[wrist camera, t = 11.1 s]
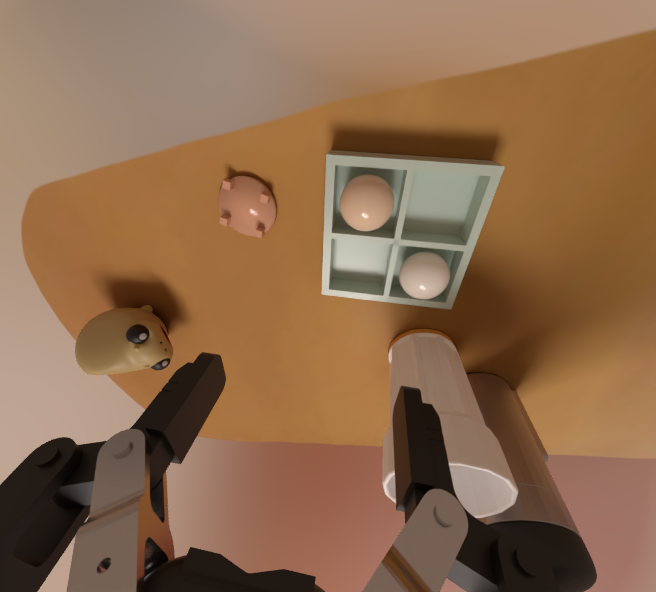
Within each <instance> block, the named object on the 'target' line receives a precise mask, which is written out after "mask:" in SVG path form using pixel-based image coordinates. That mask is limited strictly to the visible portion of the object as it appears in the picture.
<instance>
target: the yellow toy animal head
mask: <svg viewBox="0 0 656 592" xmlns="http://www.w3.org/2000/svg"><path fill="white" fill-rule="evenodd" d="M152 311H153V308H152V307H151V306H150V305H145V306H142V307H141V308H117V309H112V310H109V311H106V312H104V313H101V314H99V315H97V316H96V317H94V318H93V319H91V320H90V321H89V322H88V323H87V324H86V325H85V326H84V327H83V329H82V330H81V332H80V333H79V336H78V338H77V342H76V347H75V354H76V359H77V362H78V364H79V366H80V367H81V369H82V370H83V371H84V372H86V373H87V374H90V375H107V374H117V373H124V372H131V371H136V370H142V369H146V368H150V367H151V368H152V369H154V370H162V369H164V368H166V367H167V366H168V365H169V363H170V360H171V358H172V356H173V348H172V345H171V343H170V341H169V338H168V333H167V330H166V327H165V325H164V324H163V322H162V321H161V320H160V319H159V318H158V317H157V316H156V315H154V314H153V313H152Z"/></svg>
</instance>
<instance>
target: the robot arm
mask: <svg viewBox="0 0 656 592" xmlns="http://www.w3.org/2000/svg"><path fill="white" fill-rule="evenodd" d="M467 378H468V380H469V383H470V385H471V388H472V391H473V393H474V396H475V399H476V401H477V404H478V406H479V409H480V412H481V414H482V417H483V419H484V422H485V425H486V427H488V428H489V429H490V430H491V431H492V433H493V434H494V435H495V437H496V438H497V440H498V441H499V444H500V446H501V449H502V451H503V453H504V456H505V458H506V461H507V463H508V466H509V468H510V471H511V473H512V476H513V478H514V481H515V483H516V486H517V488H518V494H517V498H516V501H515V504H514V505H512V506H511V507H509V508H508V509H506V510H505V511H503V512H502V513H498V514H494V515H491V516H487V517H483V518H475V517H474V516H472V515H471V514H470V513H469V512H468V511H467V510H466V509H465V508H464V507H463V505H462V504H461V503H460V501H459V499H458V498H457V496H456V493H455V491H454V487H453V482H452V477H451V472H450V467H449V462H448V457H447V452H446V447H445V444H444V437H443V433H442V427H441V422H440V417H439V415H438V414H437V412H436V410H435V409H434V407H433V405H432V404H427V403H422V396H421V391H420V389H419V388H413V387H407V386H401V387H400V390H399V393H398V396H397V399H396V402H395V405H394V409H393V444H394V467H395V490H396V510H398V511H404V512H405V526H404V528H403V529H402V531H401V532H400V534H399V535H398V537H397V539H396V540H395V542H394V543H393V545H392V547H391V548H390V550H389V551H388V553H387V554H386V556H385V557H384V559H383V560H382V562H381V564H380V565H379V567H378V568H377V569H376V571H375V573H374V574H373V576H372V577H371V579H370V580H369V582H368V583H367V585H366V587H365V588H364V590H363V591H362V592H440V590H441V588H442V586H443V584H444V581H445V580H446V578H448V579H449V580H451V581H452V582H453V583H455V584H457V585H458V586H459V587H461V588H462V589H464V590H465V591H467V592H584V591H586V590H588V589H589V588H590V587H592V586H593V584H594V583H595V582H596V578H597V574H596V569H595V566H594V564H593V561H592V559H591V556H590V554H589V552H588V550H587V548H586V547H585V544H584V542H583V540H582V538H581V536H580V534H579V532H578V530H577V527H576V526H575V523H574V521H573V519H572V517H571V515H570V513H569V511H568V509H567V507H566V504H565V502H564V500H563V498H562V496H561V494H560V492H559V490H558V488H557V486H556V484H555V482H554V480H553V478H552V475H551V474H550V471H549V469H548V467H547V465H546V463H545V462H546V461H547V460H548V454H547V452H546V450H545V448H544V446H543V444H542V442H541V440H540V438H539V436H538V434H537V432H536V430H535V428H534V426H533V424H532V422H531V420H530V418H529V416H528V414H527V412H526V410H525V408H524V406H523V404H522V402H521V400H520V398H519V396H518V394H517V392H516V391H515V390H512V389H510V387H509V385H508V384H507V382H505V381H504V380H503V379H502V378H500V377H498V376H495V375H492V374H486V373H472V374H467ZM225 381H226V376H225V372H224V367H223V363H222V359H221V356H220V355H217V354H211V353H205V352H203V353H201V354H200V355H199V356H198V357H197V359H196V360H195V361H194V363H189V362H188V363H187V364H185V365H184V366H182V367H181V368H180V369H178V370H177V371H176V372H175V373H174V375H173V376H172V377H171V378H170V380H169V382H168V383H167V384H166V385H165V386H164V387H163V389H162V391H161V392H159V394H158V395H157V396H156V397H155V399H154V400H153V401H152V402H151V404H150V405H149V406H148V408H147V409H146V410H145V411H144V413H143V414H142V415H141V416H140V418H139V419H138V420H137V421H136V423H135V424H134V425H133V426H132V427H131V428H130V429H128V430H124V431H121V432H119V433H117V434H115V435H114V436H112V437H111V438H110V439H109V440H108V441H103V442H96V443H90V444H83V445H77V444H76V443H75V442H74V441H73V440H72V439H70V438H65V437H62V438H57V439H53V440H51V441H49V442H46V443H45V444H43V445H41V446H40V447H38V448H37V449H35V450H34V451H33V452H32V453H31V454H30V455H29V456H28V457H27V458H26V459H25V460H24V461H23V462H22V463H21V464H20V465H19V466H18V467H17V468H16V469H15V470H14V471H13V472H12V473H11V474H10V475H9V476H8V478H7V479H6V480H5V481H4V482H3V483H2V484H1V485H0V592H37V591H38V590H39V589H40V587H41V586H42V584H43V582H44V581H45V580H46V578H47V577H48V575H49V574H50V572H51V570H52V569H53V568H54V566H55V565H56V563H57V562H58V560H59V559H60V557H61V556H62V554H63V553H64V551H65V550H66V548H67V547H68V545H69V544H70V542H71V541H72V539H73V538H74V536H75V535H76V538H75V544H74V550H73V556H72V562H71V568H70V574H69V581H68V587H67V592H325V591H324V590H323V589H321V588H320V587H319V586H317V585H316V584H315V577H314V576H310V575H306V574H302V573H298V572H293V571H289V570H285V569H282V570H275V571H266V572H259V573H246V572H245V571H243V570H242V569H240V568H239V567H238V566H236V565H234V564H233V563H232V562H230V561H229V560H228V559H226V558H225V557H224V556H222V555H221V554H217V553H213V552H209V551H205V550H201V549H197V548H192V547H190V549H189V551H188V554H187V555H186V556H182V557H178V558H175V556H174V545H173V539H172V535H171V532H170V528H169V520H168V519H169V518H168V499H167V480H166V470H167V468H168V466H169V465H170V463H171V462H173V463H178V464H181V463H182V461H183V460H184V458H185V456H186V454H187V452H188V451H189V449H190V447H191V445H192V443H193V442H194V440H195V438H196V437H197V435H198V433H199V431H200V430H201V428H202V426H203V424H204V422H205V421H206V419H207V417H208V415H209V414H210V412H211V410H212V408H213V407H214V405H215V403H216V401H217V400H218V398H219V396H220V394H221V393H222V391H223V389H224V386H225ZM88 516H89V518H88V520H87V521H86V522H85V520H86V519H87V517H88ZM84 522H85V523H84ZM76 533H77V534H76Z"/></svg>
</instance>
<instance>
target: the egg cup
mask: <svg viewBox="0 0 656 592" xmlns="http://www.w3.org/2000/svg"><path fill="white" fill-rule="evenodd" d="M218 203H219V208H220V211H221V214H222V216H221V217H220V224H221V225H224V226H228V225H230V226H231V227H232V228H233V229H234V230H236V231H237V232H239V233H241V234H244V235H248V236H256V237H258V238H262V237H263V236H264V234H265V232H267V231H268V230H269V229H270V228H271V227H272V225H273V224H274V222H275V220H276V215H277V206H276V202H275V199H274V197H273V195H272V193H271V191H270V190H269V189H268V187H267V186H266V185H265V184H264V183H262V182H261V181H259V180H258V179H256V178H254V177H250V176H245V175H241V176H236V177H233V178H231V179H228V178H226V179H224V180H223V185H222V187H221V189H220V192H219V197H218Z"/></svg>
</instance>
